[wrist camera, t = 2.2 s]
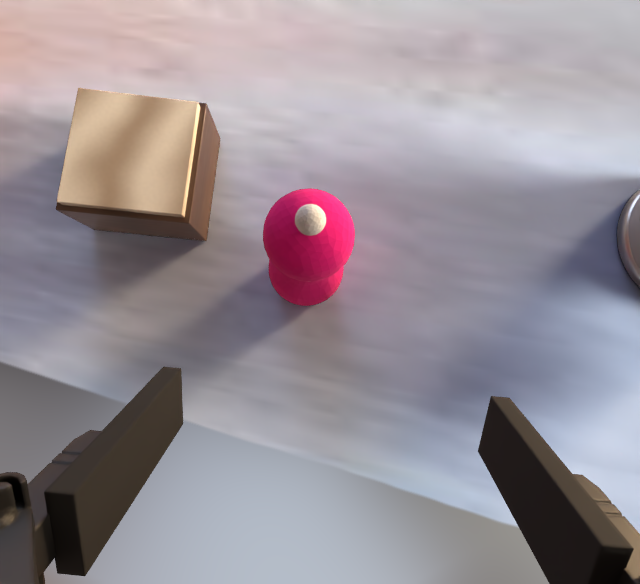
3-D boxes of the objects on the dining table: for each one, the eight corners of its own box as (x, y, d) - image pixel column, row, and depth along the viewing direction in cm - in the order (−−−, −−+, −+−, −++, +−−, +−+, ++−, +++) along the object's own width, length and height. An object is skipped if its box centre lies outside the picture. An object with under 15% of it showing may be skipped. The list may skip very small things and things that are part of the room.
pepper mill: (321, 233, 40) (342, 132, 20) (349, 292, 40) (398, 247, 20) (261, 259, 40) (222, 181, 20) (288, 319, 39) (276, 302, 19)
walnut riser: (220, 138, 41) (204, 97, 34) (206, 241, 40) (186, 220, 33) (112, 125, 41) (73, 82, 34) (93, 229, 39) (49, 206, 32)
